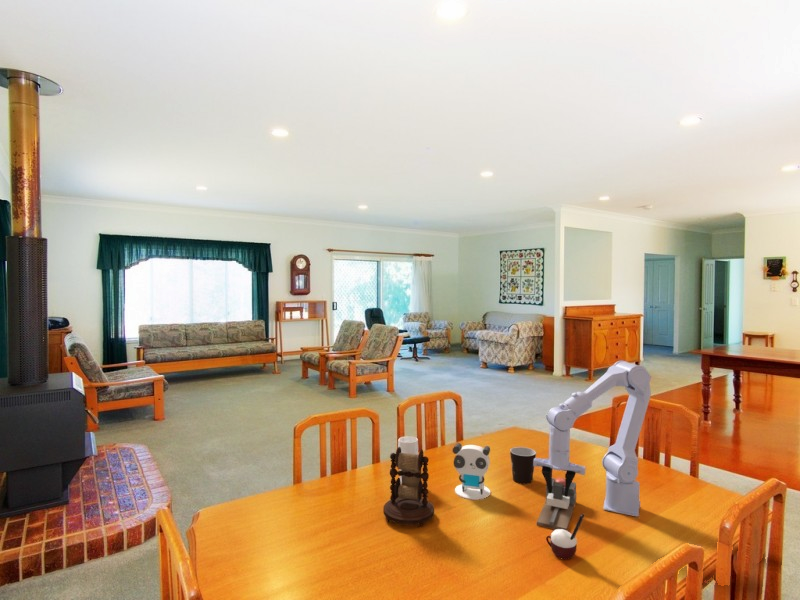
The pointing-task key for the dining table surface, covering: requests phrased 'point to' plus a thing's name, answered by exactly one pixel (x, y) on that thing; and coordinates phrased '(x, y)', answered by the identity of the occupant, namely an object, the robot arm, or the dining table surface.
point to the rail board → (557, 511)
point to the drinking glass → (408, 446)
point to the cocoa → (564, 541)
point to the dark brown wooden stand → (409, 490)
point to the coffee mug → (522, 464)
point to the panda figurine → (471, 470)
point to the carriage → (558, 497)
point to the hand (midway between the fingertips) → (558, 493)
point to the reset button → (560, 481)
